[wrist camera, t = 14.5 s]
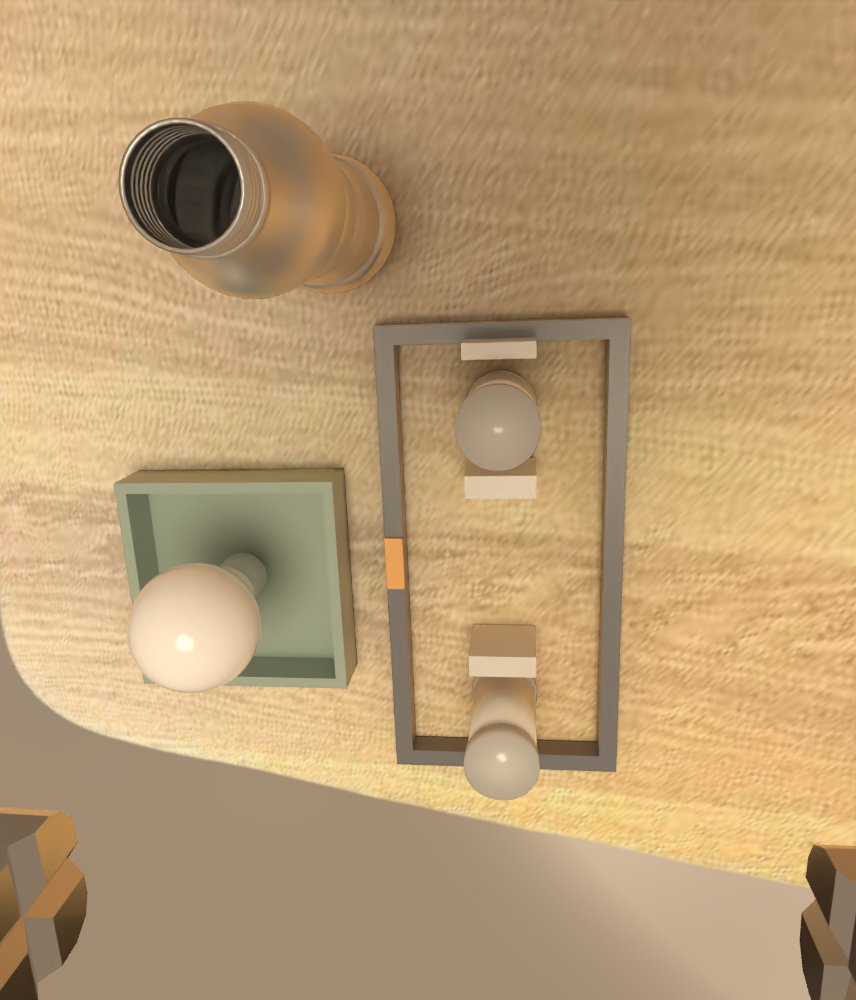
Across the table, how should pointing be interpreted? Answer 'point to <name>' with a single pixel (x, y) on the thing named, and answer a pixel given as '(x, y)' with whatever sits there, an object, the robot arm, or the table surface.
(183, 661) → the lightbulb
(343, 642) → the tray
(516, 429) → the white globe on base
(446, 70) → the table surface
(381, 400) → the rail
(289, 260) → the plastic bottle
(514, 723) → the cylinder
